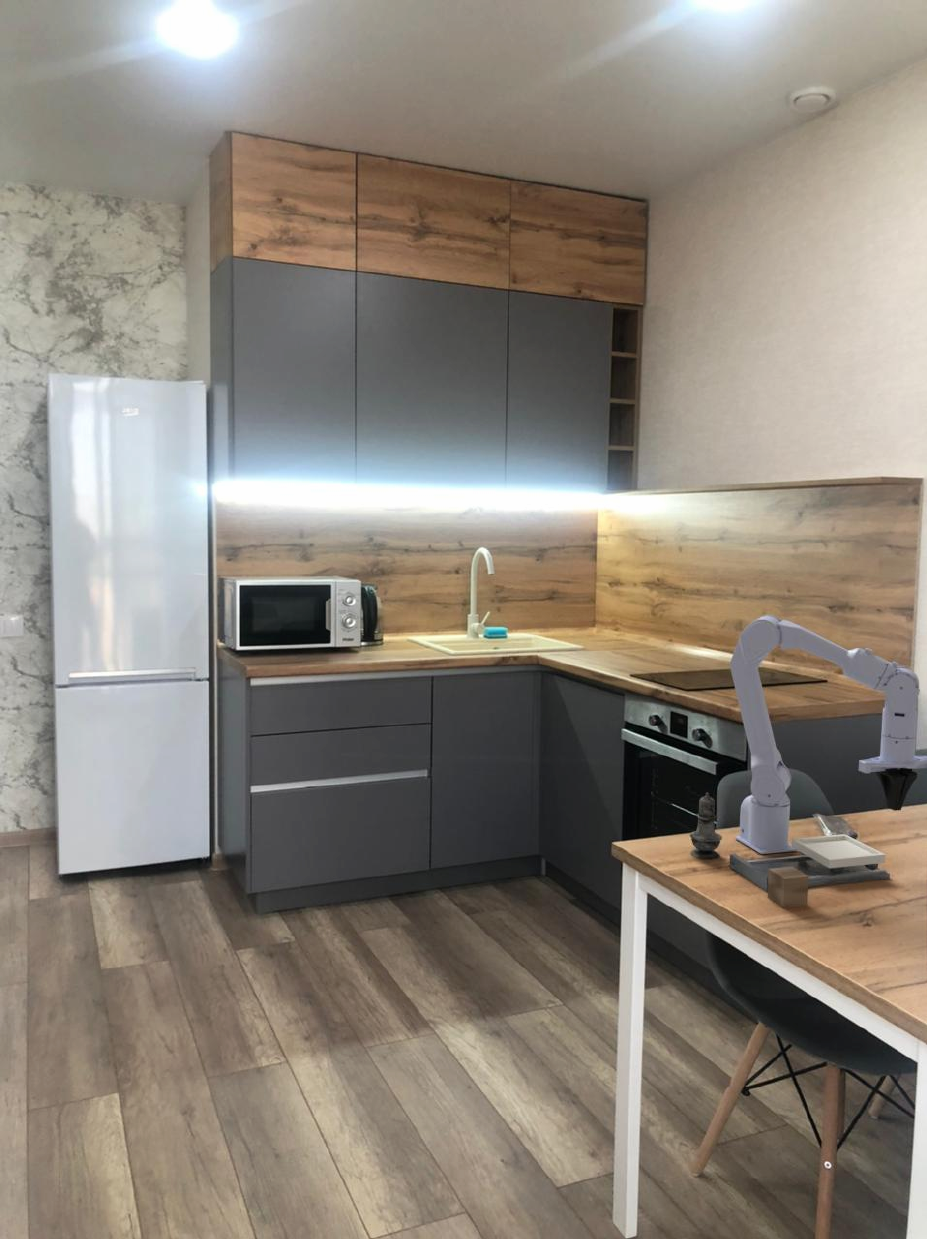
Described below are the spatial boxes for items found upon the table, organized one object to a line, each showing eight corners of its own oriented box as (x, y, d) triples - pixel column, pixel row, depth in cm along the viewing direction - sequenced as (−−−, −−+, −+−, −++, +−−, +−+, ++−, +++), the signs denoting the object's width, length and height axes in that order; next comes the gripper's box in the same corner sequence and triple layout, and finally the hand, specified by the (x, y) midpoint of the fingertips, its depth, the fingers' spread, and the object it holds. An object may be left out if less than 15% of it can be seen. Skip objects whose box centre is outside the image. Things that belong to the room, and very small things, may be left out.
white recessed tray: (791, 853, 183) (792, 839, 183) (844, 848, 186) (844, 834, 186) (829, 875, 173) (830, 860, 172) (884, 870, 176) (885, 854, 175)
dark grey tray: (729, 867, 181) (729, 854, 180) (846, 855, 187) (847, 843, 187) (766, 891, 169) (767, 878, 169) (889, 878, 176) (890, 865, 176)
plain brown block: (767, 898, 167) (768, 869, 166) (791, 895, 168) (792, 866, 167) (783, 908, 162) (784, 878, 162) (807, 905, 164) (808, 876, 163)
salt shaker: (698, 861, 184) (701, 797, 182) (683, 850, 189) (685, 788, 188) (727, 858, 185) (729, 795, 184) (711, 848, 191) (713, 786, 189)
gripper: (879, 742, 174) (874, 818, 176) (948, 738, 178) (943, 812, 180) (853, 733, 181) (849, 806, 183) (920, 729, 185) (916, 801, 187)
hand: (894, 808), depth 182 cm, fingers closed
